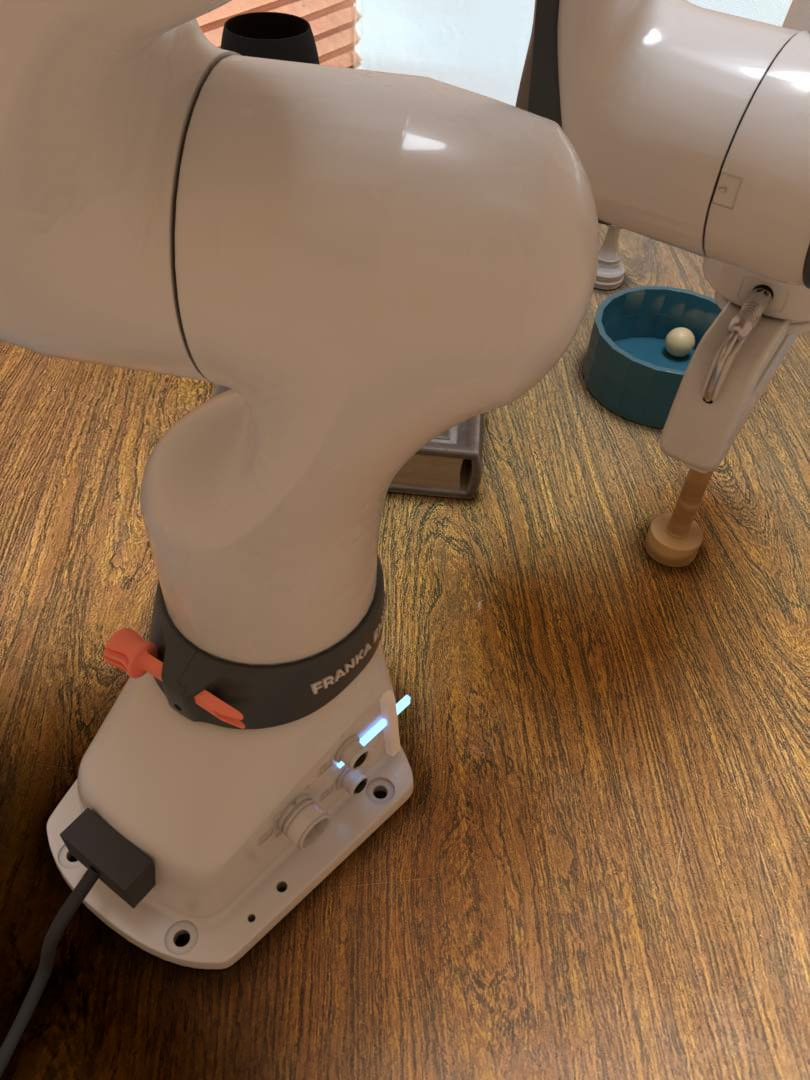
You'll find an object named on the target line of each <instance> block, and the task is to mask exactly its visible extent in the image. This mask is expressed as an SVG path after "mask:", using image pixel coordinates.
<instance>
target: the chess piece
mask: <svg viewBox="0 0 810 1080" xmlns="http://www.w3.org/2000/svg"><path fill="white" fill-rule="evenodd" d="M605 226H606V227H607V230H606V235H605V237H604V240H603V243H602V244H601V246H600V248H599V261H598V269H597V275H596V281H595V285H594V288H595V289H598V290H603V291H604V290H607V291H609V290H614V289H618V288H619V287H621V286H622V285H623V282H624V278H625V277H624V275H625V272H626V268H625V265H624V264H623V262H622V261H621V259H622V254H621V253H620V252H619V239H620V232H621V230H624V229H623V228H620V227H618V226H615V225H605Z"/></svg>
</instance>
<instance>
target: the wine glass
mask: <svg viewBox="0 0 810 1080" xmlns="http://www.w3.org/2000/svg"><path fill="white" fill-rule="evenodd" d="M220 48H221V49H224V50H228V51H233V52H236V53H239V54H240V55H242V56H249V57H257V58H266V59H275V60H283V61H292V62H301V63H310V64H319V65H321V64H320V58H319V51H318V47H317V43H316V40H315V36H314V33H313V29H312V26H311V24H310V22H309V21H308V20H307V19H305V18H303V17H301V16H298V15H295V14H291V13H286V12H278V11H277V12H276V11H253V12H247V13H241V14H237V15H234V16H232V17H230V18H228V19H227V20H226V21H225V22H224V24H223V28H222V34H221V41H220Z"/></svg>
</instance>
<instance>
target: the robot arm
mask: <svg viewBox="0 0 810 1080" xmlns="http://www.w3.org/2000/svg"><path fill="white" fill-rule="evenodd" d="M232 1H233V0H0V341H2V342H5V343H8V344H10V345H13V346H16V347H19V348H22V349H24V350H27V351H30V352H33V353H36V354H38V355H42V356H45V357H49V358H53V359H59V360H67V361H73V362H80V363H86V364H87V363H88V364H91V365H93V364H94V365H100V366H105V367H111V368H112V367H113V368H119V369H126V370H132V371H139V372H146V373H152V374H158V375H165V376H170V377H178V378H184V379H189V380H190V379H191V380H196V381H197V380H198V381H203V382H210V383H212V384H215V385H216V384H218V385H223V386H226V387H229V388H231V390H228V391H226V392H223V393H221V394H218V395H216V396H214V397H212V396H211V397H212V398H211V397H210V398H209V399H207V400H205V401H203V402H202V403H200V404H198V405H197V406H195V407H194V408H192V409H191V410H190V411H189V412H187V413H186V414H184V415H183V416H182V417H180V418H179V419H177V420H176V421H175V422H174V423H173V424H172V425H171V426H170V427H168V429H167V430H166V431H165V432H164V433H163V434H162V436H161V437H160V438H159V440H157V442H156V444H154V447H153V449H152V450H151V452H150V454H149V456H148V458H147V461H146V463H145V467H144V471H143V475H142V479H141V484H140V491H139V492H140V493H139V506H140V511H141V512H140V513H141V516H142V519H143V524H144V527H145V531H146V535H147V538H148V542H149V547H150V551H151V554H152V558H153V562H154V566H155V569H156V573H157V579H158V580H157V585H156V590H155V595H154V600H153V607H152V613H151V620H150V628H149V634H148V635H149V636H148V640H145V639H144V638H143V636H141V635H140V634H139V633H138V632H137V631H136V630H134V629H132V628H131V627H122V628H120V629H119V630H117V631H115V632H114V633H113V634H112V635H111V636H110V638H109V639H108V640H107V642H106V644H105V648H104V649H103V655H104V656H103V660H104V661H106V663H107V664H109V665H110V666H113V667H115V668H117V669H120V670H122V671H124V672H125V674H126V675H127V676H128V679H127V681H126V683H125V684H124V685H123V688H122V689H121V691H120V693H119V694H118V697H117V698H116V700H115V701H114V702H113V705H112V706H111V708H110V710H109V711H108V714H107V715H106V717H105V718H104V720H103V722H102V724H101V725H100V727H99V728H98V730H97V732H96V734H95V735H94V737H93V738H92V740H91V742H90V743H89V746H87V749H86V751H85V752H84V754H83V756H82V758H81V760H80V763H79V766H78V771H77V777H76V779H75V781H74V782H73V783H72V785H71V786H70V788H69V789H68V790H67V792H66V793H65V794H64V796H63V797H62V799H61V800H60V801H59V803H58V804H57V806H56V807H55V808H54V810H53V812H52V813H51V814H50V816H49V818H48V820H47V822H46V835H47V840H48V845H49V849H50V852H51V856H52V857H53V860H54V863H55V865H56V867H57V869H58V871H59V873H60V875H61V877H62V879H63V881H65V883H66V885H67V886H68V887H69V888H70V890H71V893H70V894H69V895H68V897H67V898H66V899H65V901H64V903H63V904H62V905H61V907H60V908H59V910H58V912H57V914H56V915H55V917H54V918H53V921H52V922H51V924H50V926H49V928H48V930H47V932H46V935H45V936H44V939H43V943H42V946H41V950H40V960H39V965H38V968H37V970H36V972H35V975H34V977H33V980H32V982H31V984H30V986H29V989H28V991H27V992H26V995H25V997H24V999H23V1002H22V1004H21V1006H20V1008H19V1010H18V1013H17V1015H16V1017H15V1019H14V1021H13V1022H12V1025H11V1026H10V1029H9V1030H8V1033H7V1035H6V1036H5V1039H4V1041H3V1042H2V1044H1V1046H0V1079H1V1078H2V1076H3V1075H4V1073H5V1070H6V1069H7V1068H8V1065H9V1064H10V1061H11V1059H12V1056H13V1055H14V1052H15V1050H16V1048H17V1046H18V1044H19V1041H20V1040H21V1038H22V1036H23V1034H24V1032H25V1030H26V1028H27V1026H28V1023H30V1020H31V1019H32V1017H33V1015H34V1013H35V1011H36V1009H37V1006H38V1005H39V1002H40V1000H41V998H42V995H43V993H44V992H45V989H46V986H47V984H48V982H49V979H50V977H51V975H52V972H53V968H54V965H55V961H56V960H55V959H56V954H57V947H58V946H59V942H60V940H61V937H62V936H63V934H64V931H65V930H66V928H67V926H68V925H69V923H70V922H71V920H72V918H73V917H74V915H75V914H76V912H77V910H78V909H79V908H80V906H81V904H83V905H84V906H85V907H86V908H87V909H88V910H89V911H90V912H91V913H93V914H94V915H95V916H96V917H97V918H98V919H99V920H100V921H102V922H103V923H104V924H105V925H106V926H107V927H109V929H111V930H112V931H113V932H116V933H117V934H118V935H119V936H120V937H122V938H124V939H125V940H126V941H127V942H128V943H131V944H132V945H134V946H136V947H137V948H139V949H140V950H142V951H144V952H146V953H148V954H150V955H153V956H155V957H157V958H158V959H161V960H163V961H166V962H168V963H171V964H175V965H178V966H181V967H187V968H191V969H198V970H226V969H228V968H231V966H233V965H234V964H235V963H237V962H238V961H239V960H240V959H242V958H243V957H244V956H245V955H246V954H247V953H248V952H249V951H250V950H251V949H253V947H255V945H257V944H258V943H259V941H261V940H263V938H264V937H265V936H266V935H267V934H268V933H270V931H272V929H273V928H274V927H276V926H277V925H278V924H279V923H280V922H281V921H282V920H283V919H284V918H285V917H286V916H287V915H288V914H289V913H291V911H292V910H294V909H295V908H296V906H298V905H299V904H300V903H301V902H302V901H303V900H304V899H305V898H306V897H307V896H308V895H309V894H310V893H311V892H313V890H315V888H317V887H318V886H319V885H320V884H321V883H322V882H323V881H324V880H325V879H326V878H327V877H328V876H329V875H330V874H331V873H333V871H334V870H335V869H337V867H339V866H340V865H341V864H342V862H344V861H345V860H346V859H347V858H348V857H350V855H351V854H353V853H354V852H355V851H356V850H357V849H358V848H359V847H360V846H361V845H362V844H363V843H364V842H365V841H366V840H368V838H369V837H371V835H373V833H374V832H376V831H377V830H378V829H379V828H380V827H381V826H382V825H383V824H384V823H385V822H386V821H387V820H388V819H389V818H390V817H391V816H392V815H394V813H396V812H397V811H398V810H399V809H400V808H401V807H402V806H403V805H404V804H405V803H406V802H407V801H408V800H409V799H410V798H411V796H412V794H413V792H414V788H415V782H414V775H413V774H414V773H413V770H412V768H411V765H410V762H409V760H408V757H407V755H406V753H405V751H404V749H403V747H402V745H401V739H400V738H401V737H400V730H399V729H400V728H399V714H400V713H402V712H403V711H404V710H405V709H406V708H407V707H408V706H410V704H411V696H410V695H408V694H405V695H404V696H403V697H402V698H401V699H400V700H399V701H398V702H397V699H396V696H395V691H394V687H393V684H392V680H391V676H390V673H389V668H388V665H387V661H386V657H385V652H384V649H383V646H382V643H381V640H382V637H383V636H382V635H383V633H384V624H385V617H386V611H387V591H386V590H385V575H384V570H383V569H384V568H383V565H382V562H381V559H380V555H379V554H378V552H379V543H380V542H379V541H380V532H381V523H382V517H383V512H384V506H385V500H386V497H387V494H388V492H387V491H388V488H389V486H390V484H391V482H392V480H393V478H394V477H395V475H396V474H397V473H398V471H399V470H400V469H401V468H402V467H403V465H404V464H405V463H406V462H407V461H408V460H409V459H410V458H411V457H412V456H413V455H414V454H415V453H416V452H418V451H419V450H420V449H421V448H423V447H424V446H425V445H426V444H427V443H429V442H430V441H431V440H433V439H434V438H436V437H437V436H439V435H440V434H442V433H444V432H445V431H447V430H448V429H450V428H452V427H454V426H456V425H458V424H460V423H462V422H464V421H465V420H468V419H470V418H472V417H475V416H477V415H480V414H482V413H484V414H485V413H487V412H490V411H493V410H496V409H499V408H502V407H505V406H508V405H510V404H512V403H514V402H515V401H517V400H518V399H520V398H521V397H522V396H524V395H526V394H527V393H528V392H530V391H531V390H532V389H533V388H534V387H536V386H537V384H538V383H540V382H541V381H542V380H543V379H544V378H545V377H546V376H547V375H548V374H549V373H550V371H552V370H553V369H554V368H555V367H556V365H557V364H558V362H559V361H560V360H561V358H562V357H563V356H564V355H565V353H566V352H567V350H568V349H569V347H570V345H571V344H572V342H573V340H574V339H575V337H576V335H577V334H578V331H579V329H580V328H581V325H582V323H583V321H584V319H585V317H586V314H587V311H588V308H589V305H590V303H591V299H592V297H593V293H594V285H595V281H596V275H597V269H598V261H599V249H600V230H599V229H600V228H599V224H600V225H604V226H606V225H615V226H618V227H620V228H623V229H622V230H626V231H629V232H631V233H635V234H638V235H640V236H643V237H646V238H648V239H651V240H654V241H657V242H660V243H662V244H666V245H668V246H671V247H674V248H676V249H679V250H681V251H684V252H688V253H691V254H693V255H696V256H699V257H702V258H703V259H702V265H701V268H702V269H701V270H702V273H703V277H704V279H706V282H707V283H708V285H709V286H710V287H711V288H712V289H713V290H714V299H715V300H716V303H717V305H718V306H719V308H720V309H721V310H722V311H721V312H720V314H719V315H718V317H717V318H716V319H715V321H714V322H713V323H712V325H711V326H710V327H709V329H708V330H707V331H706V333H705V334H704V336H703V337H702V339H701V341H700V342H699V344H698V346H697V348H696V350H695V352H694V354H693V356H692V358H691V360H690V362H689V364H688V366H687V369H686V371H685V374H684V376H683V378H682V381H681V384H680V386H679V389H678V391H677V394H676V396H675V399H674V402H673V404H672V407H671V409H670V412H669V415H668V417H667V420H666V423H665V425H664V428H662V430H661V434H660V438H659V448H660V451H661V453H662V454H663V455H665V456H667V457H669V458H671V459H673V460H676V461H678V462H680V463H683V465H684V466H685V467H686V468H687V469H693V470H695V471H697V472H700V473H703V474H705V473H708V472H710V471H714V472H715V471H716V470H717V468H719V466H720V465H721V463H722V462H723V460H724V459H725V457H726V456H727V455H728V452H729V450H730V448H731V447H732V445H733V444H734V442H735V440H736V439H737V437H738V436H739V434H740V432H741V431H742V429H743V427H744V425H745V424H746V422H747V420H748V419H749V417H750V416H751V414H752V412H753V411H754V409H755V407H756V406H757V404H758V403H759V401H760V399H761V398H762V396H763V394H764V392H765V391H766V389H767V388H768V386H769V384H770V382H771V381H772V379H773V378H774V376H775V374H776V373H777V371H778V369H779V368H780V366H781V365H782V362H783V361H784V359H785V358H786V356H787V354H788V353H789V351H790V350H791V348H792V347H793V344H794V343H795V341H796V339H797V338H798V336H799V335H800V334H804V333H807V332H810V0H792V1H791V3H790V5H789V7H788V11H787V13H786V15H785V18H784V20H783V23H782V25H775V24H771V23H768V22H763V21H760V20H755V19H751V18H748V17H743V16H739V15H734V14H730V13H726V12H722V11H718V10H714V9H709V8H705V7H702V6H699V5H697V4H694V3H692V2H690V1H689V0H534V6H533V7H534V8H533V18H532V26H531V33H530V37H529V42H528V46H527V50H526V54H525V59H524V63H523V67H522V71H521V72H522V73H521V75H520V76H521V77H520V80H519V81H520V82H519V86H518V91H517V94H516V100H515V106H514V105H512V104H509V103H507V102H505V101H501V100H498V99H496V98H494V97H491V96H487V95H485V94H481V93H478V92H475V91H472V90H469V89H466V88H462V87H459V86H457V85H453V84H450V83H447V82H444V81H441V80H438V79H435V78H432V77H430V76H423V75H414V74H405V73H404V74H403V73H396V72H389V71H381V70H380V71H379V70H370V69H361V68H353V67H344V66H334V65H326V64H320V65H319V64H310V63H301V62H292V61H283V60H275V59H266V58H257V57H249V56H242V55H240V54H239V53H236V52H233V51H228V50H224V49H221V47H219V46H216V45H215V44H214V43H213V42H212V41H210V40H209V38H208V37H207V36H206V34H205V33H204V31H203V30H202V28H201V25H200V24H199V22H198V20H197V18H200V17H202V16H204V15H207V14H209V13H211V12H212V11H215V10H217V9H219V8H222V7H223V6H224V5H227V4H229V3H230V2H232ZM377 792H383V793H384V794H385V795H386V796H385V797H383V798H378V797H376V796H375V794H376V793H377ZM72 857H73V858H74V859H75V860H76V861H70V860H71V858H72ZM282 888H284V889H285V890H284V891H279V890H280V889H282ZM183 935H188V936H189V941H188V942H187V943H186V944H185V945H183V946H178V945H176V942H177V940H178V939H179V937H181V936H183Z"/></svg>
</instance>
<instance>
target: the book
mask: <svg viewBox="0 0 810 1080" xmlns="http://www.w3.org/2000/svg"><path fill="white" fill-rule="evenodd" d="M228 390H231V388H229V387H226V386H223V385H218V384H215V387H214V390H213V392H212V395H211V397H210V398H212V397H214V396H216V395H218V394H221V393H223V392H226V391H228ZM484 418H485V413H482V414H480V415H477V416H475V417H472V418H470V419H468V420H465V421H464V422H462V423H460V424H458V425H456V426H454V427H452V428H450V429H448V430H447V431H445V432H444V433H442V434H440V435H439V436H437V437H436V438H434V439H433V440H431V441H430V442H429V443H427V444H426V445H425V446H424V447H423V448H421V449H420V450H419V451H418V452H416V453H415V454H414V455H413V456H412V457H411V458H410V459H409V460H408V461H407V462H406V463H405V464H404V465H403V467H402V468H401V469H400V470H399V471H398V473H397V474H396V475H395V477H394V478H393V480H392V482H391V484H390V486H389V488H388V491H387V493H397V494H398V493H399V494H400V493H401V494H408V495H409V494H411V495H421V496H431V497H440V498H450V499H451V498H452V499H462V500H463V499H464V500H473V497H474V496H475V494H476V492H477V491H478V489H479V486H480V484H481V480H482V472H483V448H484V447H483V446H484V425H485V424H484V422H485V421H484V420H485V419H484Z"/></svg>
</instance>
